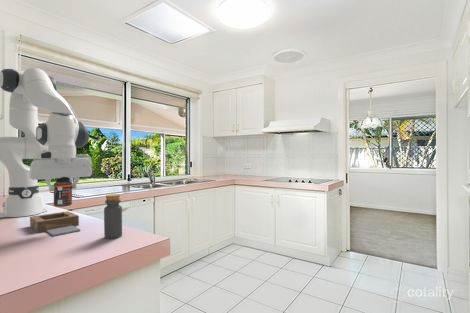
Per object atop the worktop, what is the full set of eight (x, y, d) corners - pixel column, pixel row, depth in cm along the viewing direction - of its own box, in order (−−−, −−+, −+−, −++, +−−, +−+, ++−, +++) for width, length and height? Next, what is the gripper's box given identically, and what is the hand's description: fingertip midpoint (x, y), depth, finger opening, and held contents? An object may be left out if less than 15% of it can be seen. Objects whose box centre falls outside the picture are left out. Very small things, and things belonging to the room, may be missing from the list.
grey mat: (46, 231, 102) (46, 230, 102) (72, 226, 108) (72, 225, 108) (52, 236, 95) (52, 234, 95) (80, 231, 102) (80, 229, 102)
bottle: (109, 234, 98) (109, 193, 98) (125, 234, 98) (124, 193, 97) (101, 239, 92) (100, 196, 92) (117, 239, 92) (117, 196, 92)
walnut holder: (30, 226, 110) (30, 216, 110) (68, 219, 120) (68, 211, 120) (38, 232, 100) (37, 222, 100) (78, 225, 111) (78, 215, 111)
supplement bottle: (63, 207, 98) (62, 177, 98) (49, 207, 99) (49, 177, 99) (75, 204, 104) (75, 175, 104) (63, 204, 105) (62, 175, 105)
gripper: (88, 154, 111) (89, 186, 112) (28, 154, 96) (28, 192, 96) (94, 153, 107) (94, 187, 107) (31, 154, 92) (32, 193, 92)
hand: (62, 189), depth 102 cm, fingers closed on supplement bottle, 6 cm apart
